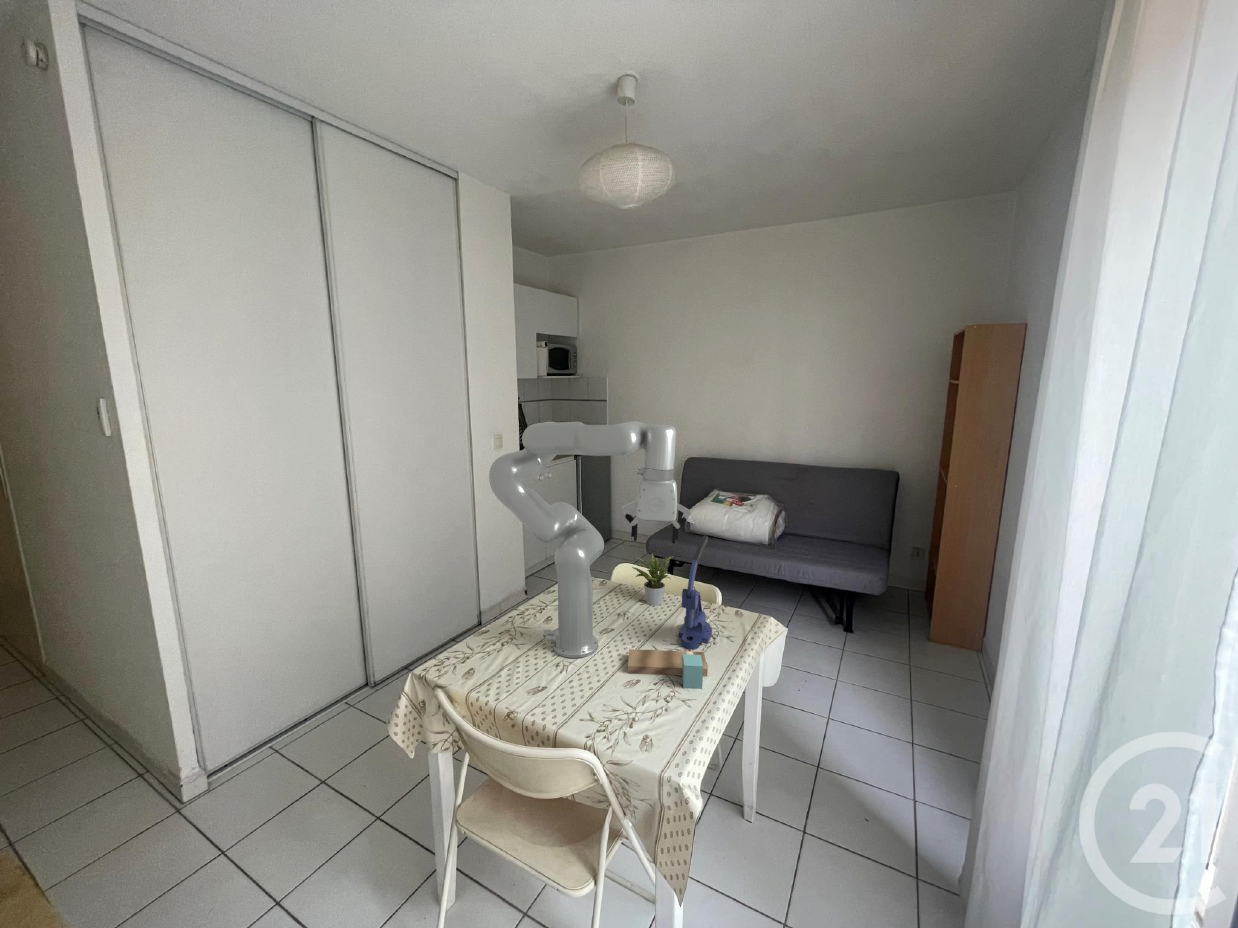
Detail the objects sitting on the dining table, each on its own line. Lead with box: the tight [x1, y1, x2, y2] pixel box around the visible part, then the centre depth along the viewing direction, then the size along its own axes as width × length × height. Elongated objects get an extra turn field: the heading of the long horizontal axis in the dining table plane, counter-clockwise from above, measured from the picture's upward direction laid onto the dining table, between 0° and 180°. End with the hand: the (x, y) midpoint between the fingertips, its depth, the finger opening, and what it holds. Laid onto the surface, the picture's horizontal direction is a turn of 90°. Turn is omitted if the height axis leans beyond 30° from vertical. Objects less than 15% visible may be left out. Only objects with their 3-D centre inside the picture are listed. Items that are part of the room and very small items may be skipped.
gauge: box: [681, 651, 704, 690], centre depth 125 cm, size 4×10×6 cm, turn 177°
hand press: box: [678, 535, 713, 651], centre depth 142 cm, size 19×9×28 cm, turn 157°
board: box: [627, 648, 709, 677], centre depth 129 cm, size 20×8×2 cm, turn 87°
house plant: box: [631, 552, 675, 607], centre depth 167 cm, size 14×14×16 cm
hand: (654, 540), depth 126 cm, fingers open, 9 cm apart
